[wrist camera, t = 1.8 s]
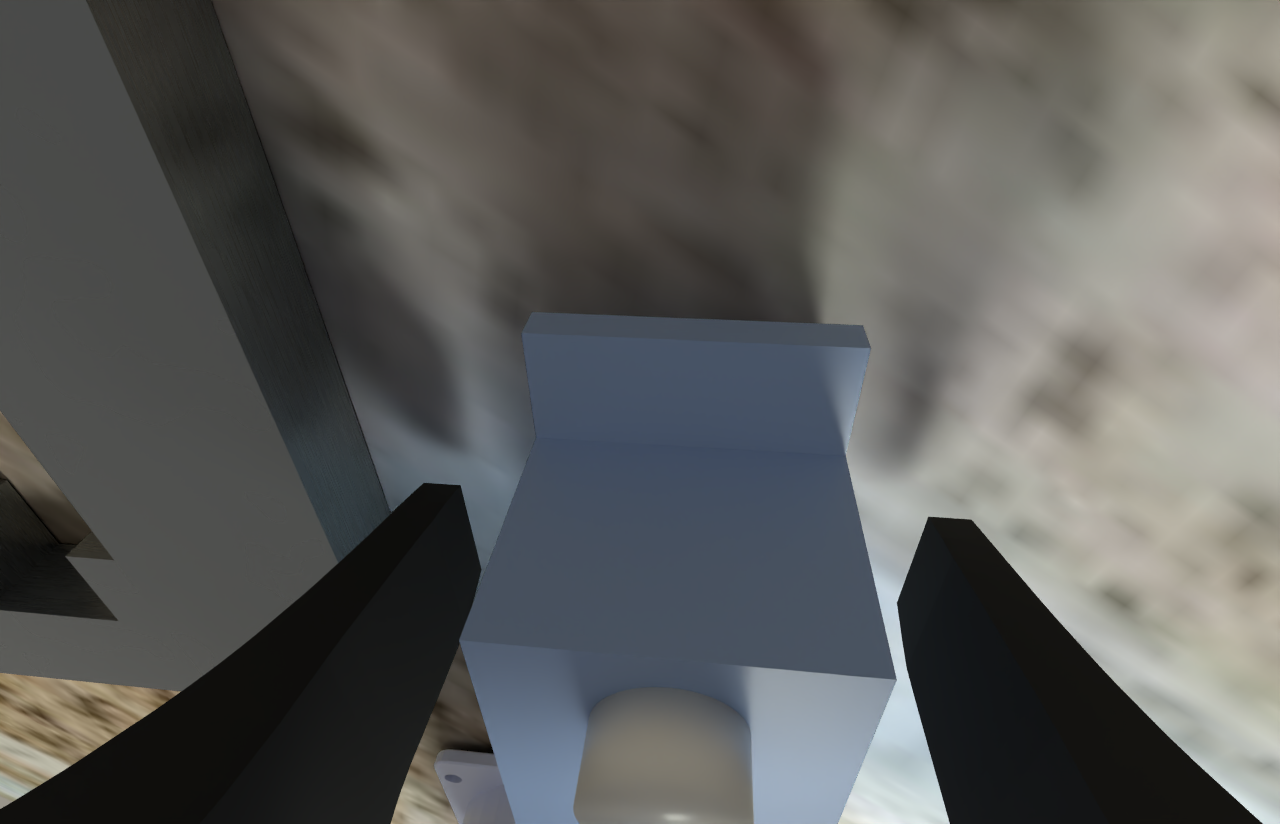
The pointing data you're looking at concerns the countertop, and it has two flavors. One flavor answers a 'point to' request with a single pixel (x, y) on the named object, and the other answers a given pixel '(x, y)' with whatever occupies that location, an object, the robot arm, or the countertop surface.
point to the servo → (682, 578)
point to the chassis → (157, 354)
